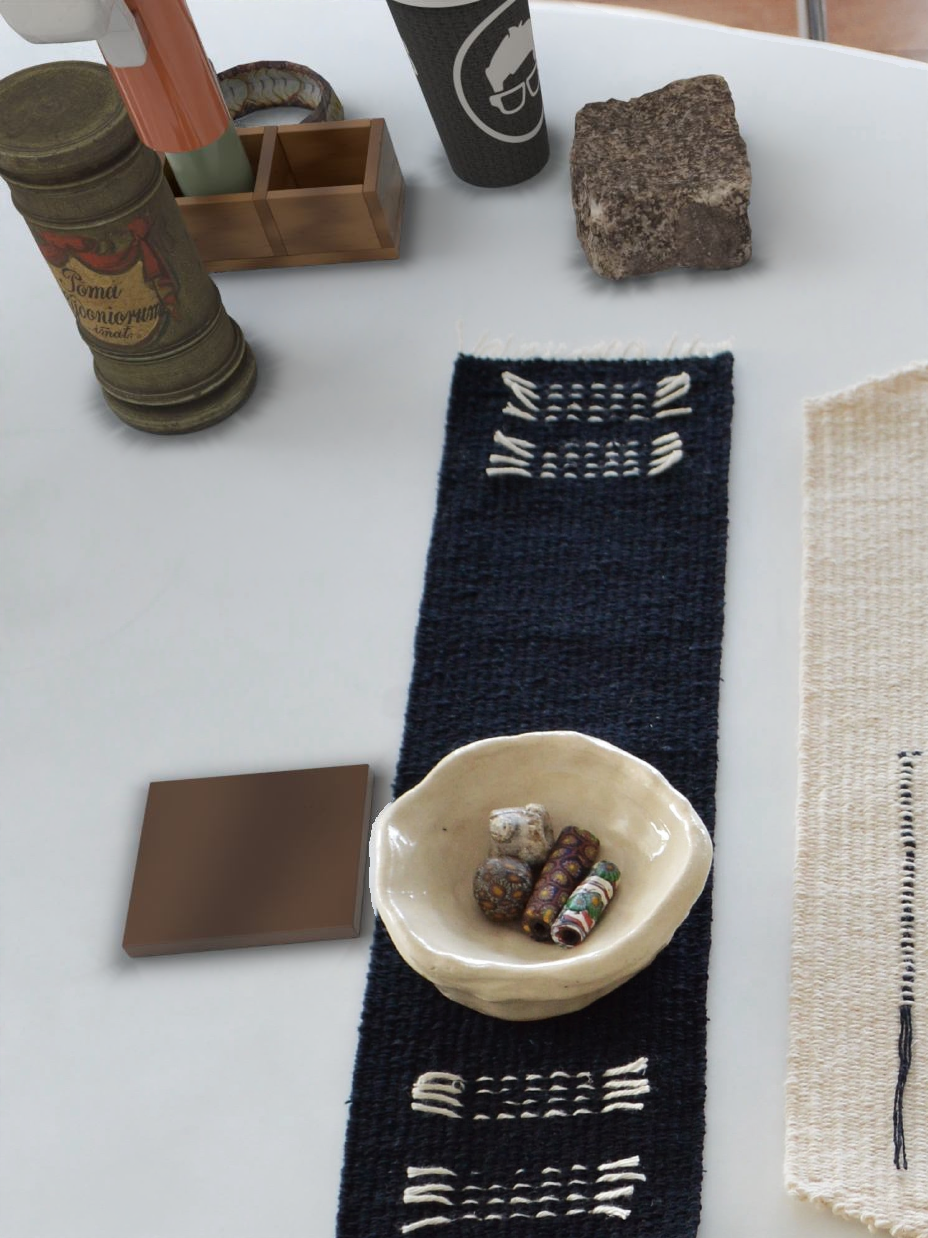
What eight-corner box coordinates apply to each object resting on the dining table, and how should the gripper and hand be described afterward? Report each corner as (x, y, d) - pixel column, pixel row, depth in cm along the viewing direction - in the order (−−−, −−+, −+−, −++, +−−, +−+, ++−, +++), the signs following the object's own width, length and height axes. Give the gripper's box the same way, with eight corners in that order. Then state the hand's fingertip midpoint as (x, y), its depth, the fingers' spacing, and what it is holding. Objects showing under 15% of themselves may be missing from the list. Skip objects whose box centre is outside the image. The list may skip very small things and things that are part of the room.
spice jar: (129, 158, 90) (37, -48, 82) (141, 100, 93) (53, -106, 84) (227, 151, 91) (146, -55, 82) (237, 93, 93) (159, -112, 84)
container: (130, 333, 113) (-10, 52, 98) (276, 335, 113) (158, 54, 98) (88, 436, 109) (-66, 158, 93) (240, 438, 108) (111, 160, 93)
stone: (756, 182, 111) (764, 269, 116) (726, 61, 118) (734, 148, 123) (570, 201, 110) (585, 289, 115) (550, 77, 117) (566, 165, 122)
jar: (192, 249, 116) (126, 100, 108) (201, 201, 118) (137, 52, 110) (268, 243, 116) (208, 94, 108) (275, 196, 119) (217, 47, 110)
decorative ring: (361, 174, 121) (341, 87, 126) (345, 128, 118) (325, 41, 123) (203, 206, 120) (189, 116, 124) (183, 160, 117) (170, 70, 122)
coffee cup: (557, 100, 125) (504, -131, 112) (586, 184, 120) (535, -47, 107) (416, 129, 123) (345, -102, 111) (440, 216, 119) (369, -15, 106)
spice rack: (172, 275, 116) (141, 208, 112) (187, 201, 120) (157, 133, 116) (398, 258, 117) (375, 191, 112) (406, 185, 120) (384, 117, 116)
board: (129, 957, 90) (120, 946, 89) (157, 793, 95) (149, 781, 94) (359, 937, 90) (352, 926, 89) (374, 775, 95) (368, 763, 94)
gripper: (-33, -421, 80) (101, -95, 92) (-128, -173, 70) (37, 159, 82) (116, -429, 81) (230, -104, 93) (43, -184, 70) (183, 148, 82)
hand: (139, 22), depth 87 cm, fingers closed on spice jar, 4 cm apart
